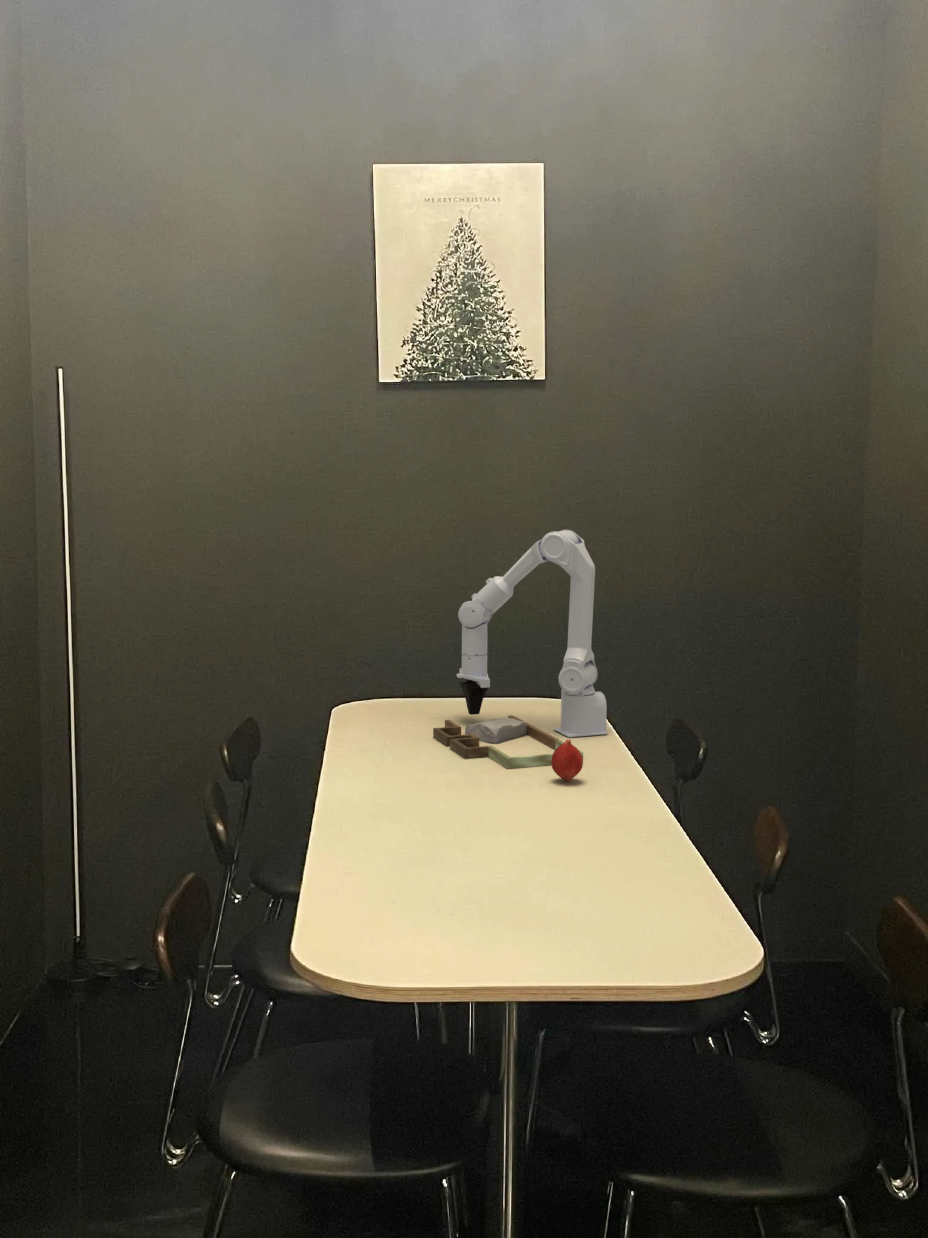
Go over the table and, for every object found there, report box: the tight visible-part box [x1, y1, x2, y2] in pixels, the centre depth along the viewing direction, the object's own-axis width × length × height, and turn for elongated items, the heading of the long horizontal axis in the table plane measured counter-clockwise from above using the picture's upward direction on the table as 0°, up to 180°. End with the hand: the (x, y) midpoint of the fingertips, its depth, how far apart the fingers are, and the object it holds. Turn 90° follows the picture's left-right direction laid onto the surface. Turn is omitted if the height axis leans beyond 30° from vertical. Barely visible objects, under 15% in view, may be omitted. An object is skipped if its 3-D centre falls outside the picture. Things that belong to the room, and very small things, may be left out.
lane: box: [432, 714, 584, 770], centre depth 249 cm, size 21×37×2 cm, turn 20°
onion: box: [551, 738, 584, 783], centre depth 221 cm, size 6×6×8 cm
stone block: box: [464, 717, 527, 745], centre depth 258 cm, size 12×5×10 cm
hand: (473, 713), depth 270 cm, fingers closed
